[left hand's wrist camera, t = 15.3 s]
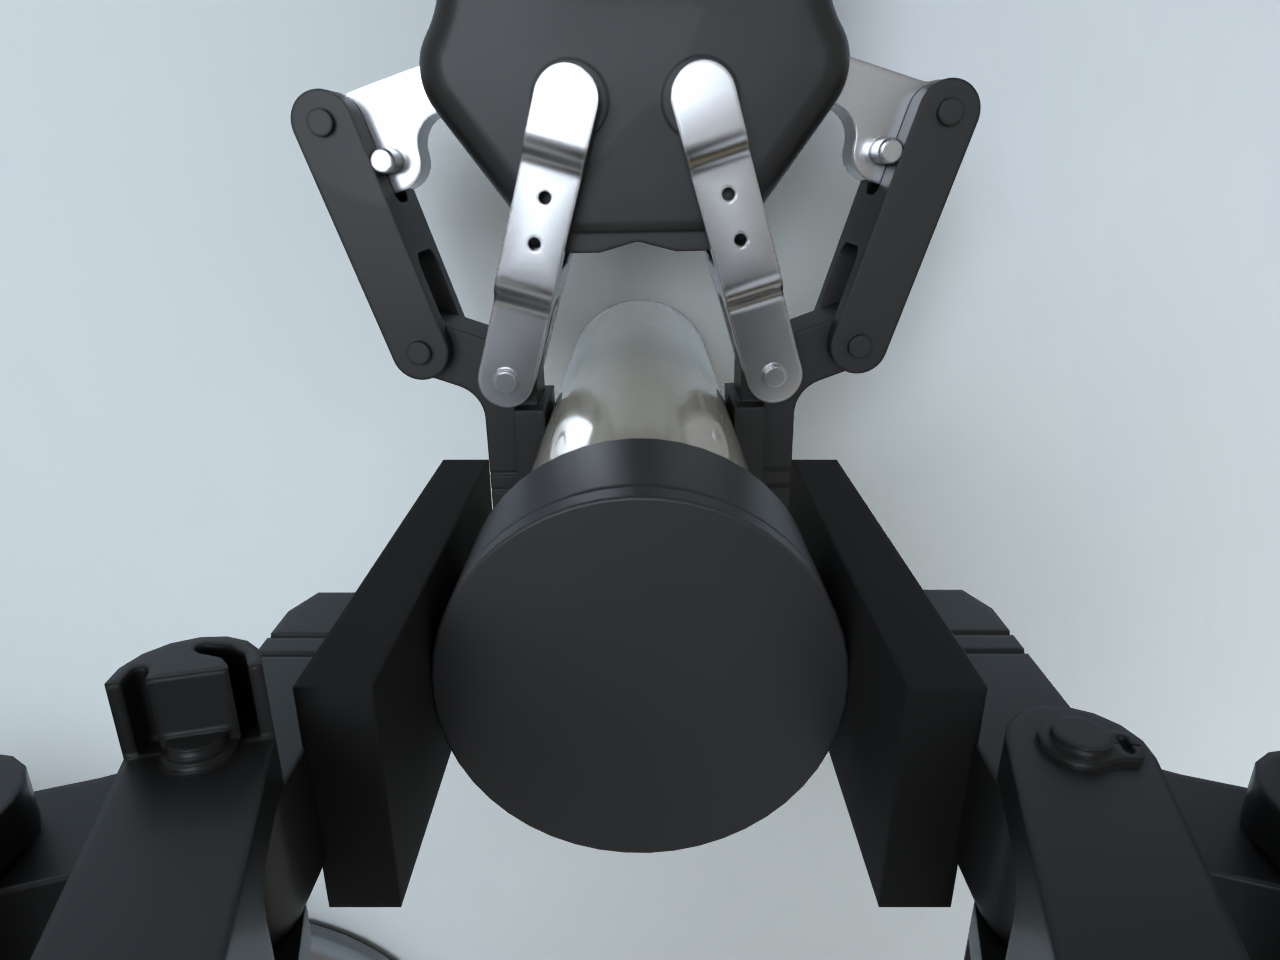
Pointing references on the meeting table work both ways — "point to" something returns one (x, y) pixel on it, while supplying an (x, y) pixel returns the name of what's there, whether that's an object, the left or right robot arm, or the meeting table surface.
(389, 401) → the meeting table surface
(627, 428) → the jar
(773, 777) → the lid
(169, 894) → the left robot arm
